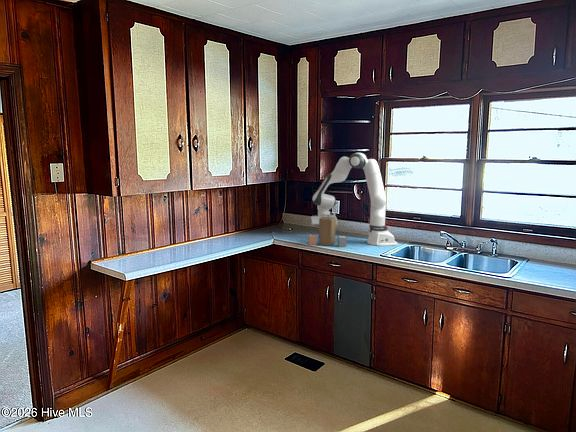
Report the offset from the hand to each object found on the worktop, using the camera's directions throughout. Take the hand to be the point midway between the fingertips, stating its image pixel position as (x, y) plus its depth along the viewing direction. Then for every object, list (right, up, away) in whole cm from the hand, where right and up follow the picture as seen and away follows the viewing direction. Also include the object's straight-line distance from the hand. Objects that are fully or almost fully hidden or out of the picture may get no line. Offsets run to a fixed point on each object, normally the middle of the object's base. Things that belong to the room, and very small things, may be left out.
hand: (325, 230), depth 322 cm
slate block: (+11, -11, -14) cm, 21 cm away
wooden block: (0, -10, -7) cm, 13 cm away
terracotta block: (-10, -10, -9) cm, 17 cm away
